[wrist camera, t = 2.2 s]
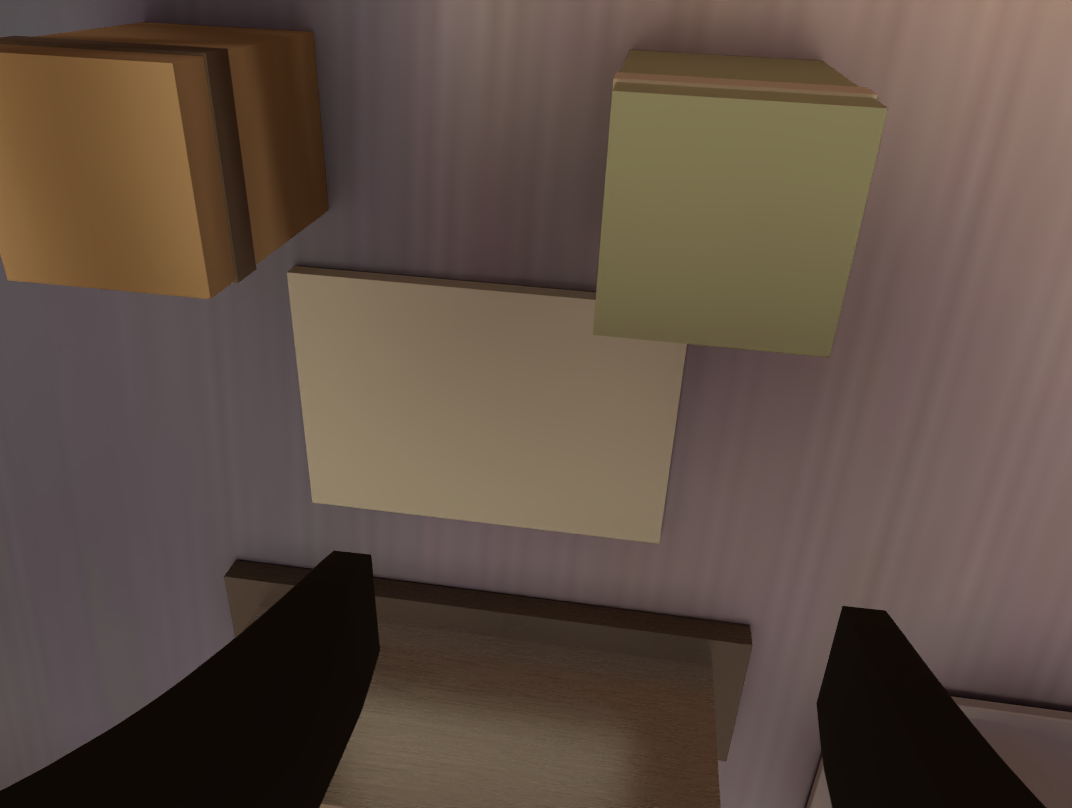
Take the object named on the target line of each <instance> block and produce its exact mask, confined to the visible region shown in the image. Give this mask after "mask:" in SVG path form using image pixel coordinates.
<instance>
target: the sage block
mask: <svg viewBox="0 0 1072 808" xmlns="http://www.w3.org/2000/svg"><path fill="white" fill-rule="evenodd" d="M887 111H888V108H887V107H885V106H884V105H883V104H881V103H880V102H879V101H877V94H876V93H875V92H873V91H872V90H870V89H869V88H867V87H858V86H857V85H855V84H854V83H852V82H851V81H850V80H848V79H847V78H846V77H844V76H843V75H842V74H840V73H839V72H837V71H836V70H835V69H833V68H832V67H831V66H829V65H828V64H826V63H825V62H824V61H815V60H798V59H781V58H764V57H746V56H729V55H712V54H695V53H677V52H660V51H643V50H630V51H629V53H628V56H627V58H626V60H625V63H624V65H623V67H622V70H621V72H616V74H615V76H614V78H613V90H612V101H611V114H610V126H609V139H608V151H607V164H606V176H605V189H604V202H603V214H602V227H601V239H600V252H599V264H598V277H597V289H596V302H595V315H594V327H593V335H600V336H610V337H621V338H631V339H642V340H652V341H663V342H673V343H684V344H694V345H705V346H715V347H726V348H736V349H747V350H757V351H768V352H778V353H789V354H799V355H810V356H820V357H830V355H831V350H832V346H833V342H834V337H835V333H836V329H837V325H838V320H839V316H840V312H841V308H842V303H843V299H844V295H845V290H846V286H847V282H848V278H849V273H850V269H851V265H852V261H853V256H854V252H855V248H856V243H857V239H858V235H859V231H860V226H861V222H862V218H863V214H864V209H865V205H866V201H867V197H868V192H869V188H870V184H871V179H872V175H873V171H874V167H875V162H876V158H877V154H878V150H879V145H880V141H881V137H882V132H883V128H884V124H885V120H886V115H887Z"/></svg>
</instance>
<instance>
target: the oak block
mask: <svg viewBox="0 0 1072 808" xmlns="http://www.w3.org/2000/svg"><path fill="white" fill-rule="evenodd" d="M327 211H328V198H327V186H326V174H325V162H324V150H323V138H322V126H321V114H320V102H319V90H318V78H317V66H316V54H315V42H314V32H308V31H291V30H273V29H255V28H238V27H220V26H202V25H185V24H167V23H150V22H142V23H134V24H127V25H119V26H112V27H104V28H97V29H89V30H81V31H74V32H66V33H59V34H51V35H44V36H36V37H25V36H9V37H1V38H0V254H1V258H2V261H3V265H4V268H5V272H6V275H7V279H8V280H12V281H23V282H34V283H44V284H55V285H66V286H76V287H87V288H98V289H108V290H119V291H130V292H141V293H151V294H162V295H173V296H183V297H194V298H205V299H211V298H212V297H214V296H215V295H216V294H218V293H219V292H220V291H222V290H223V289H224V288H226V287H227V286H228V285H230V284H231V283H232V282H235V283H239V282H240V281H241V280H243V279H244V278H245V277H247V276H248V275H249V274H251V273H252V272H253V271H254V270H256V264H258V263H259V262H260V261H262V260H263V259H264V258H266V257H267V256H268V255H270V254H271V253H272V252H274V251H275V250H276V249H278V248H279V247H280V246H282V245H283V244H284V243H286V242H287V241H288V240H290V239H291V238H292V237H294V236H295V235H296V234H297V233H299V232H300V231H301V230H303V229H304V228H305V227H307V226H308V225H309V224H311V223H312V222H313V221H315V220H316V219H317V218H319V217H320V216H321V215H323V214H324V213H325V212H327Z"/></svg>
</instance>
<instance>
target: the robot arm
mask: <svg viewBox="0 0 1072 808" xmlns="http://www.w3.org/2000/svg"><path fill="white" fill-rule="evenodd" d="M379 652H380V643H379V633H378V622H377V612H376V601H375V591H374V580H373V570H372V559H371V555H369V554H359V553H350V552H341V551H333V552H332V553H331V554H329V555H328V556H327V557H326V558H325V559H324V560H322V561H321V562H320V563H319V564H318V565H317V566H316V567H315V568H313V569H312V570H311V571H310V572H309V573H308V574H307V575H306V576H305V577H304V578H303V579H301V580H300V581H299V582H298V583H297V584H296V585H295V586H294V587H293V588H292V589H290V590H289V591H288V592H287V593H286V594H285V595H284V596H283V597H282V598H280V599H279V600H278V601H277V602H276V603H275V604H274V605H273V606H272V607H270V608H269V609H268V610H267V611H266V612H265V613H264V614H262V615H261V616H260V617H259V618H258V619H257V620H255V621H254V622H253V623H252V624H251V625H250V626H248V627H247V628H246V629H245V630H244V631H243V632H242V633H240V634H239V635H238V636H237V637H236V638H234V639H233V640H232V641H231V642H230V643H228V644H227V645H226V646H225V647H224V648H222V649H221V650H220V651H218V652H217V653H216V654H215V655H213V656H212V657H211V658H210V659H208V660H207V661H206V662H204V663H203V664H202V665H201V666H199V667H198V668H197V669H196V670H194V671H193V672H192V673H191V674H189V675H188V676H187V677H185V678H184V679H183V680H181V681H180V682H179V683H177V684H176V685H175V686H173V687H172V688H171V689H169V690H168V691H166V692H165V693H164V694H162V695H161V696H159V697H158V698H157V699H155V700H154V701H152V702H151V703H149V704H148V705H146V706H145V707H143V708H142V709H140V710H139V711H137V712H136V713H134V714H133V715H131V716H130V717H128V718H127V719H125V720H124V721H122V722H121V723H119V724H118V725H116V726H114V727H113V728H111V729H110V730H108V731H106V732H105V733H103V734H101V735H100V736H98V737H96V738H94V739H93V740H91V741H89V742H88V743H86V744H84V745H82V746H81V747H79V748H77V749H76V750H74V751H72V752H71V753H69V754H67V755H65V756H64V757H62V758H60V759H59V760H57V761H55V762H54V763H52V764H50V765H48V766H47V767H45V768H43V769H41V770H39V771H37V772H36V773H34V774H32V775H30V776H28V777H26V778H24V779H22V780H20V781H18V782H17V783H15V784H13V785H11V786H9V787H7V788H5V789H3V790H1V791H0V808H319V807H320V805H321V803H322V801H323V798H324V796H325V794H326V792H327V789H328V787H329V785H330V783H331V780H332V778H333V776H334V774H335V771H336V769H337V767H338V765H339V762H340V760H341V758H342V756H343V753H344V751H345V749H346V746H347V744H348V742H349V739H350V737H351V735H352V733H353V730H354V728H355V726H356V723H357V721H358V719H359V716H360V714H361V712H362V709H363V706H364V702H365V699H366V696H367V693H368V690H369V687H370V683H371V680H372V677H373V673H374V670H375V666H376V663H377V659H378V656H379ZM817 711H818V721H819V731H820V741H821V750H822V758H821V761H820V764H819V768H818V771H817V774H816V777H815V781H814V784H813V787H812V791H811V794H810V797H809V800H808V804H807V807H806V808H1072V712H1065V711H1057V710H1050V709H1042V708H1035V707H1027V706H1020V705H1012V704H1005V703H997V702H990V701H982V700H975V699H967V698H960V697H952V696H950V695H949V694H948V692H947V691H946V690H945V688H944V687H943V686H942V685H941V683H940V682H939V681H938V679H937V678H936V677H935V675H934V674H933V673H932V672H931V670H930V669H929V668H928V666H927V665H926V664H925V662H924V661H923V660H922V658H921V657H920V656H919V654H918V653H917V652H916V650H915V649H914V648H913V646H912V645H911V644H910V642H909V641H908V640H907V638H906V637H905V635H904V634H903V633H902V631H901V630H900V629H899V627H898V626H897V625H896V623H895V622H894V621H893V619H892V618H891V617H890V616H889V614H888V613H887V612H886V611H884V610H874V609H865V608H856V607H847V606H842V610H841V614H840V618H839V621H838V625H837V629H836V633H835V636H834V640H833V644H832V648H831V651H830V655H829V659H828V663H827V666H826V670H825V674H824V678H823V681H822V685H821V689H820V693H819V697H818V700H817Z"/></svg>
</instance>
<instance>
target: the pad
mask: <svg viewBox="0 0 1072 808" xmlns="http://www.w3.org/2000/svg"><path fill="white" fill-rule="evenodd" d="M287 278H288V287H289V296H290V305H291V314H292V323H293V332H294V341H295V350H296V359H297V368H298V377H299V386H300V395H301V404H302V413H303V422H304V431H305V440H306V449H307V458H308V467H309V476H310V485H311V494H312V502H314V503H322V504H331V505H339V506H347V507H356V508H364V509H373V510H381V511H389V512H398V513H406V514H415V515H423V516H431V517H440V518H448V519H457V520H465V521H473V522H482V523H490V524H499V525H507V526H515V527H524V528H532V529H541V530H549V531H558V532H566V533H574V534H583V535H591V536H600V537H608V538H616V539H625V540H633V541H642V542H650V543H658V544H659V541H660V534H661V527H662V520H663V513H664V505H665V498H666V491H667V484H668V477H669V470H670V462H671V455H672V448H673V441H674V434H675V427H676V419H677V412H678V405H679V398H680V391H681V383H682V376H683V369H684V362H685V355H686V348H687V344H684V343H673V342H663V341H652V340H642V339H631V338H621V337H610V336H600V335H593V327H594V315H595V302H596V292H585V291H574V290H563V289H551V288H540V287H529V286H517V285H506V284H495V283H483V282H472V281H460V280H449V279H438V278H426V277H415V276H404V275H392V274H381V273H370V272H358V271H347V270H336V269H324V268H313V267H301V266H294V267H293V268H292V269H290V270H289V271H288V272H287Z"/></svg>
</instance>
